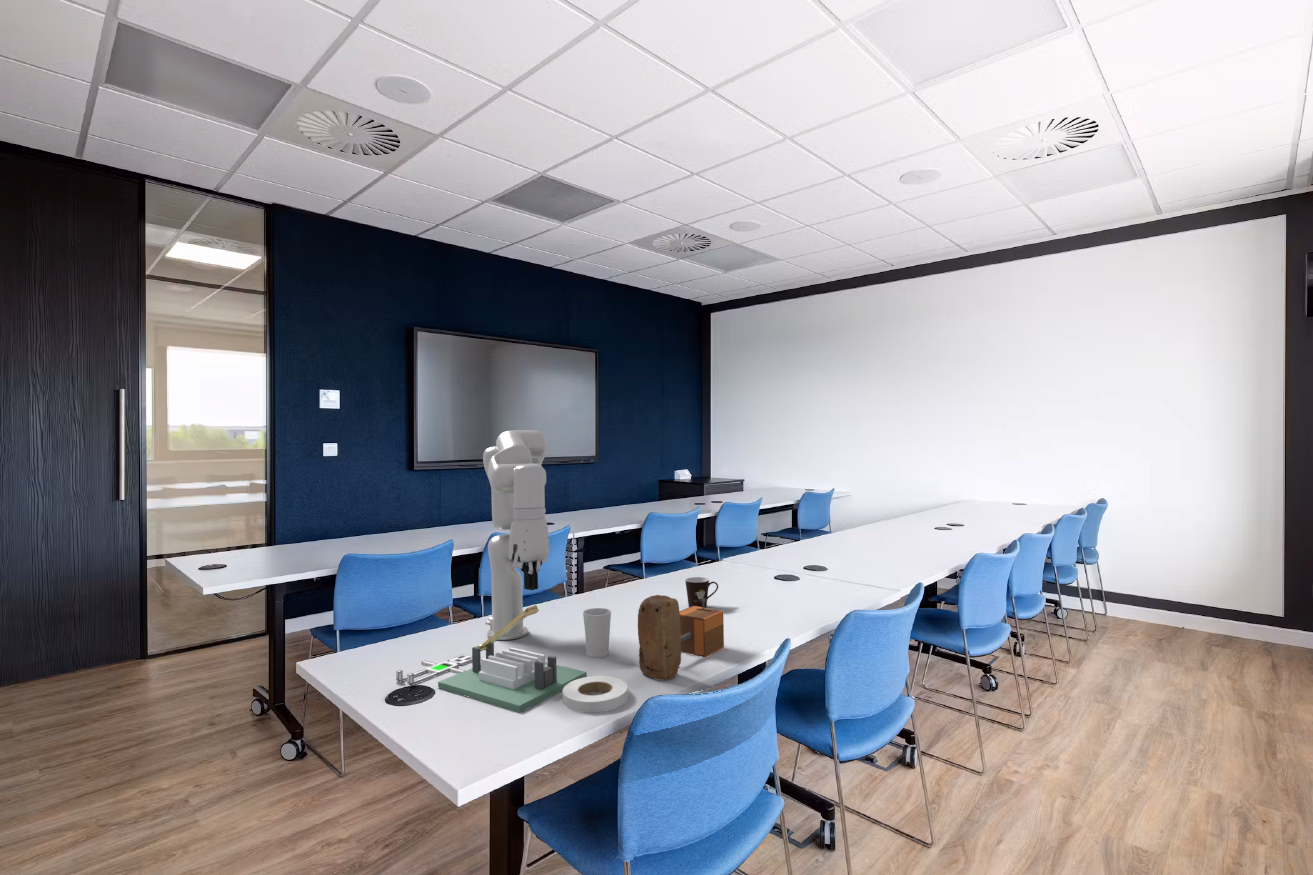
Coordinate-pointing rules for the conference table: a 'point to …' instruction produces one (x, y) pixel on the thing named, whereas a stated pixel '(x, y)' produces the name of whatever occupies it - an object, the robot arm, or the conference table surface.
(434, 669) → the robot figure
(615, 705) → the roll of tape
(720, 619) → the clamp
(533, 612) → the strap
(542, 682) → the motherboard
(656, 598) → the block
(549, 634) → the conference table surface
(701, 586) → the coffee mug
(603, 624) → the cup
